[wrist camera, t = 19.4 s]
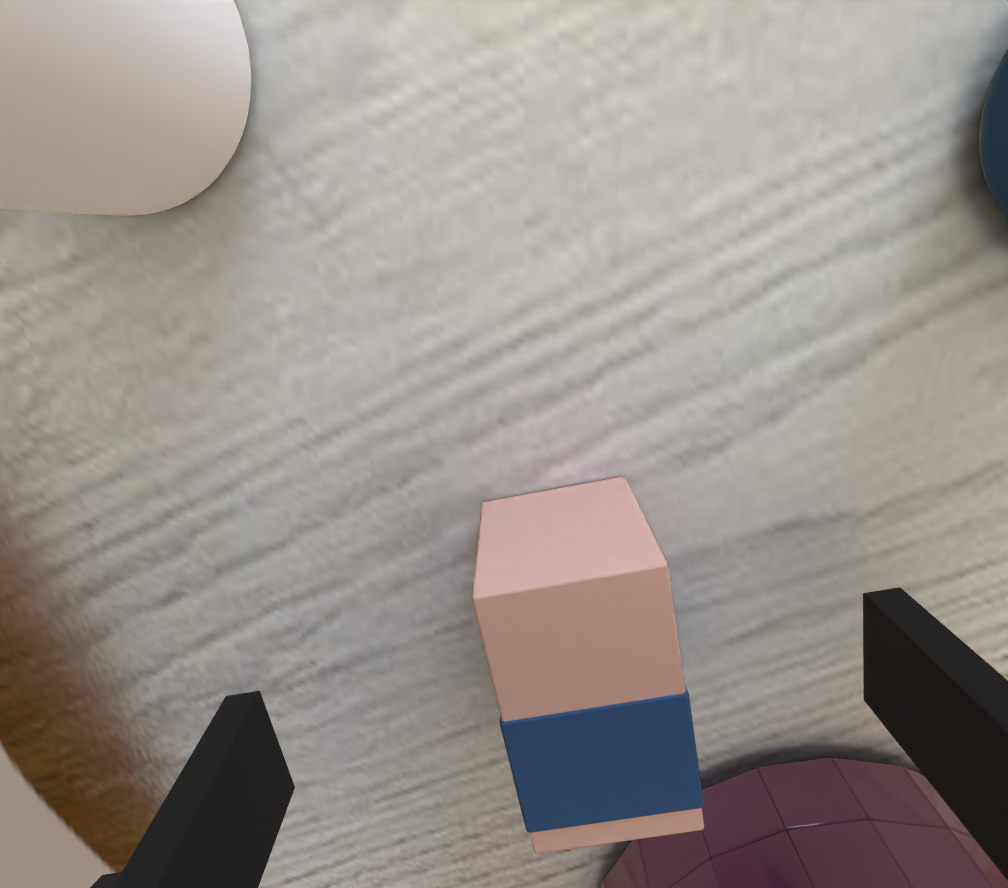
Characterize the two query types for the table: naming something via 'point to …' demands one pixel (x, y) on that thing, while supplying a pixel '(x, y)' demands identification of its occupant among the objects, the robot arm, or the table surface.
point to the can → (118, 102)
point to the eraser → (586, 667)
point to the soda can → (996, 136)
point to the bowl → (815, 834)
